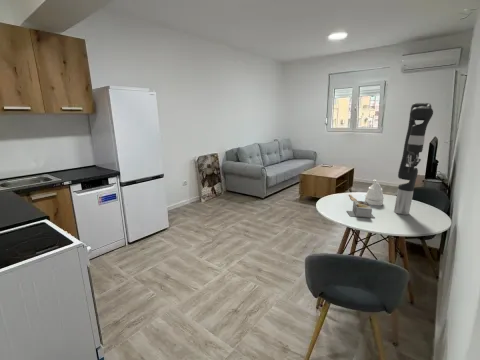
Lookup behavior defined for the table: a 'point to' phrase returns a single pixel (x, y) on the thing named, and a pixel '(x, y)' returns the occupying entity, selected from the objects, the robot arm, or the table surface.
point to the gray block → (352, 214)
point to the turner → (352, 198)
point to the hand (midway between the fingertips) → (410, 172)
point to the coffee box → (362, 209)
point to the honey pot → (374, 194)
